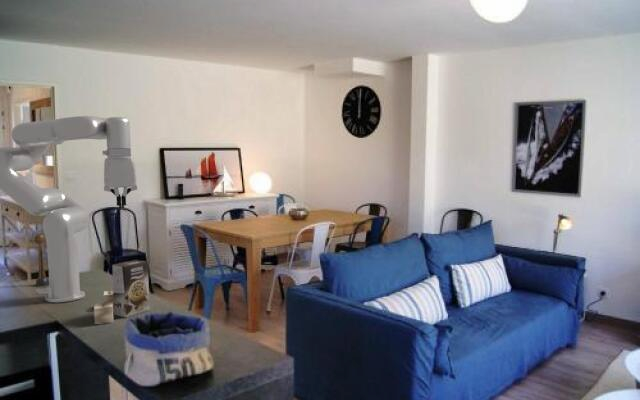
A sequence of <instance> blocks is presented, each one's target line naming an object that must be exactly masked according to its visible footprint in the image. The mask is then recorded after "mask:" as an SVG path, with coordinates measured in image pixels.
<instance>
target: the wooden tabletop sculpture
mask: <svg viewBox="0 0 640 400" xmlns="http://www.w3.org/2000/svg"><path fill="white" fill-rule="evenodd" d="M33 242H34V243H35V244H37V245H38V247H37V248H38V249H37V250H38V277H37V279H36V281H35V286H36V287H48V286H49V285H50V284H49V277H47V276H46V275H47V274H46V273H45V265H44V253H43V246H42V244H44V243H45V242H46V237H45V234H41V233H40V234H36V235H35V236H34V238H30V239H29V243H33Z"/></svg>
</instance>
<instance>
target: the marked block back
mask: <svg viewBox="0 0 640 400" xmlns="http://www.w3.org/2000/svg"><path fill="white" fill-rule="evenodd" d="M111 302H113V310H114V296H113V290H104V291H103V303H111Z"/></svg>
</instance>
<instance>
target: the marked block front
mask: <svg viewBox="0 0 640 400" xmlns="http://www.w3.org/2000/svg"><path fill="white" fill-rule="evenodd" d="M93 314H94V315H93V317H94V325H95V324H98V325H104V324H103V323H107V324H113V323H114V309H113V302H111V303H104V302H103V303H95V304H94V307H93Z"/></svg>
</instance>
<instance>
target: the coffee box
mask: <svg viewBox="0 0 640 400" xmlns="http://www.w3.org/2000/svg"><path fill="white" fill-rule="evenodd" d="M112 287H113V288H112V289H113V290H112V291H113V296H114V309H113V316H119V317H121V318H130V317H133V316H137V315H139V314H142V313H145V312H149V311H150V288H149V287H150V286H149V263H148V261H147V260H137V259H134V260H130V261H125V262H120V263H114V264H112Z"/></svg>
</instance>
